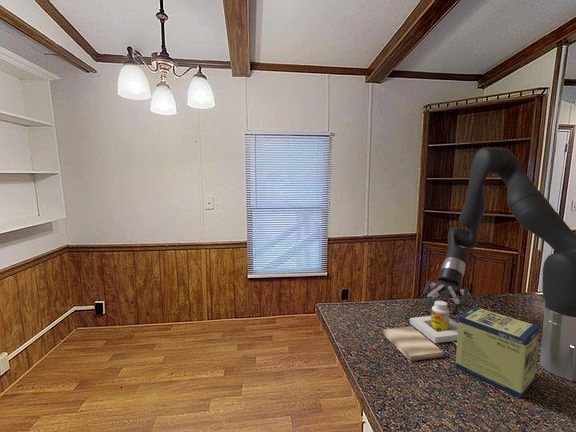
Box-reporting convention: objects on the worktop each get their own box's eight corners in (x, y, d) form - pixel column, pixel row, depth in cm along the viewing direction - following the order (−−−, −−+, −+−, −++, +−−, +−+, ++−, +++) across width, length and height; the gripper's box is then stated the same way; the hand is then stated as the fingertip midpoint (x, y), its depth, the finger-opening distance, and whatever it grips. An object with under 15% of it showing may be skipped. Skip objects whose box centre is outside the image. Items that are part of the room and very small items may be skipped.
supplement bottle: (427, 328, 105) (428, 300, 104) (439, 325, 107) (440, 298, 106) (439, 335, 100) (440, 307, 99) (452, 333, 102) (453, 304, 100)
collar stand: (472, 338, 98) (472, 332, 98) (435, 343, 95) (435, 337, 95) (443, 319, 111) (443, 314, 111) (409, 323, 109) (410, 317, 109)
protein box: (522, 400, 70) (527, 339, 68) (454, 367, 83) (457, 315, 81) (535, 382, 76) (540, 325, 75) (470, 354, 89) (473, 305, 87)
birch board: (443, 356, 88) (443, 351, 88) (410, 360, 86) (410, 356, 86) (411, 330, 104) (411, 326, 103) (383, 333, 102) (383, 329, 102)
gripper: (429, 263, 113) (417, 300, 106) (472, 271, 103) (461, 312, 96) (434, 273, 117) (422, 310, 110) (475, 281, 107) (464, 322, 100)
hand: (440, 311), depth 103 cm, fingers open, 8 cm apart
